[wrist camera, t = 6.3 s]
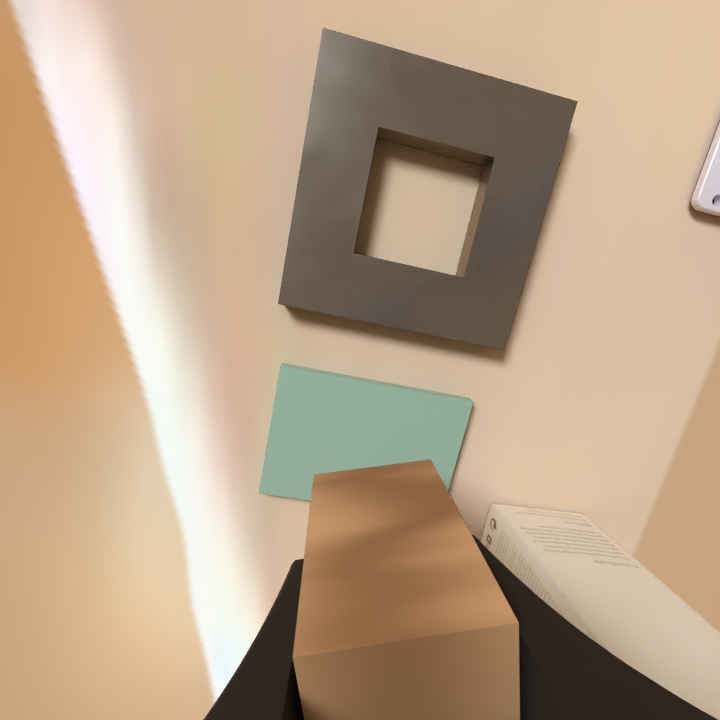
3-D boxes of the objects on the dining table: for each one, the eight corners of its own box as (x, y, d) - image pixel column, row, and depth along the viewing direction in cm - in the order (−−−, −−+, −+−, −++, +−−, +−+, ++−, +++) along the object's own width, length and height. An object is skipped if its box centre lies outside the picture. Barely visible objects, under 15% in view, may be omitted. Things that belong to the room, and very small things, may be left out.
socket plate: (560, 114, 16) (577, 101, 15) (493, 345, 19) (504, 350, 17) (323, 47, 15) (322, 27, 14) (281, 302, 17) (278, 304, 16)
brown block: (430, 458, 12) (518, 622, 6) (437, 558, 13) (520, 784, 7) (313, 474, 12) (292, 657, 6) (328, 574, 13) (322, 817, 7)
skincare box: (472, 562, 21) (640, 908, 10) (490, 495, 20) (700, 786, 9) (568, 571, 22) (836, 907, 10) (589, 507, 21) (911, 793, 9)
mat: (469, 398, 19) (473, 401, 19) (436, 513, 20) (439, 519, 20) (282, 363, 18) (280, 366, 17) (261, 486, 19) (258, 493, 19)
